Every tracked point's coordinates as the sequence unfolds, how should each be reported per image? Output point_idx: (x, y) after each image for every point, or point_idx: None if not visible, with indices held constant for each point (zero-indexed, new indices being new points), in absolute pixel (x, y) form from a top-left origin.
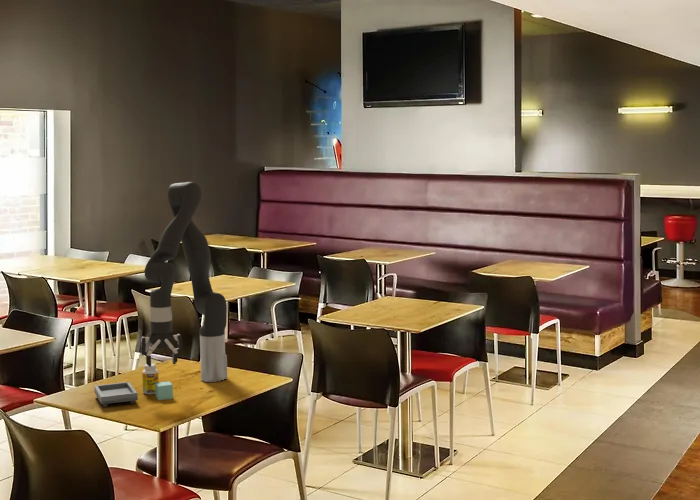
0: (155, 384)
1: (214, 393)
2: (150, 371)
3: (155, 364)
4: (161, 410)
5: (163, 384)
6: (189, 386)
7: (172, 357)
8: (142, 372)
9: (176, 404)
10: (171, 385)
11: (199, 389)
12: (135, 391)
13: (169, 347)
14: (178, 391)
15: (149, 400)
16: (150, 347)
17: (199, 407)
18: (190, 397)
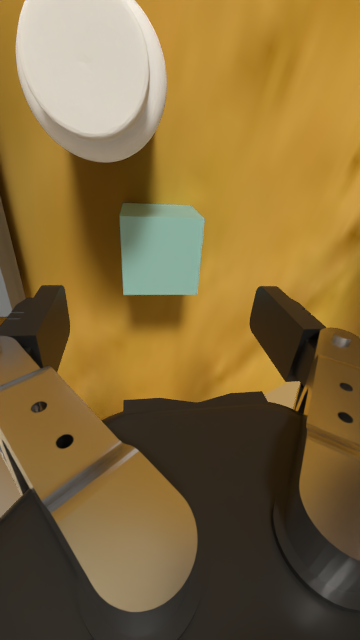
0: (120, 221)
1: (343, 273)
2: (89, 145)
3: (144, 88)
4: (113, 384)
5: (156, 272)
6: (334, 83)
7: (279, 311)
8: (18, 67)
9: (174, 345)
10: (191, 292)
11: (337, 181)
12: (1, 290)
13: (302, 397)
14: (245, 164)
15: (86, 255)
16: (11, 470)
17: (225, 392)
18: (248, 286)
